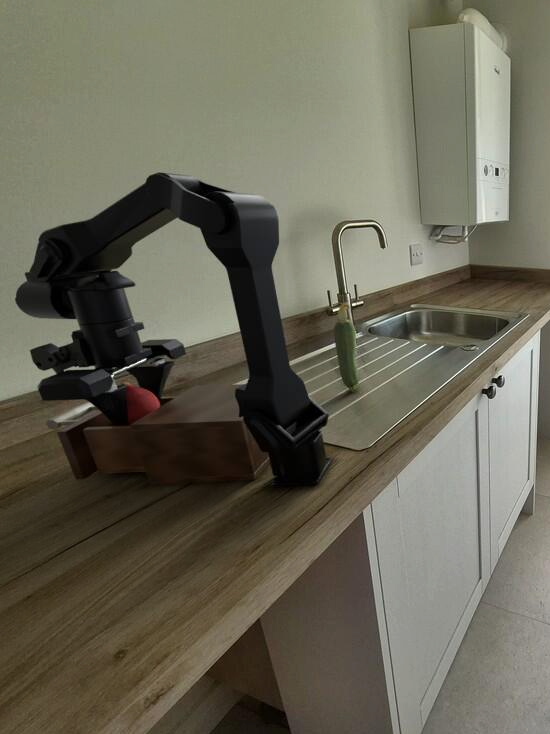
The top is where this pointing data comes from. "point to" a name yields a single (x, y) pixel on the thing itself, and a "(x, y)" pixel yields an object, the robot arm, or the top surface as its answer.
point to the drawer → (97, 442)
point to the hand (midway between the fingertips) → (138, 417)
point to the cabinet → (198, 439)
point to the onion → (139, 402)
